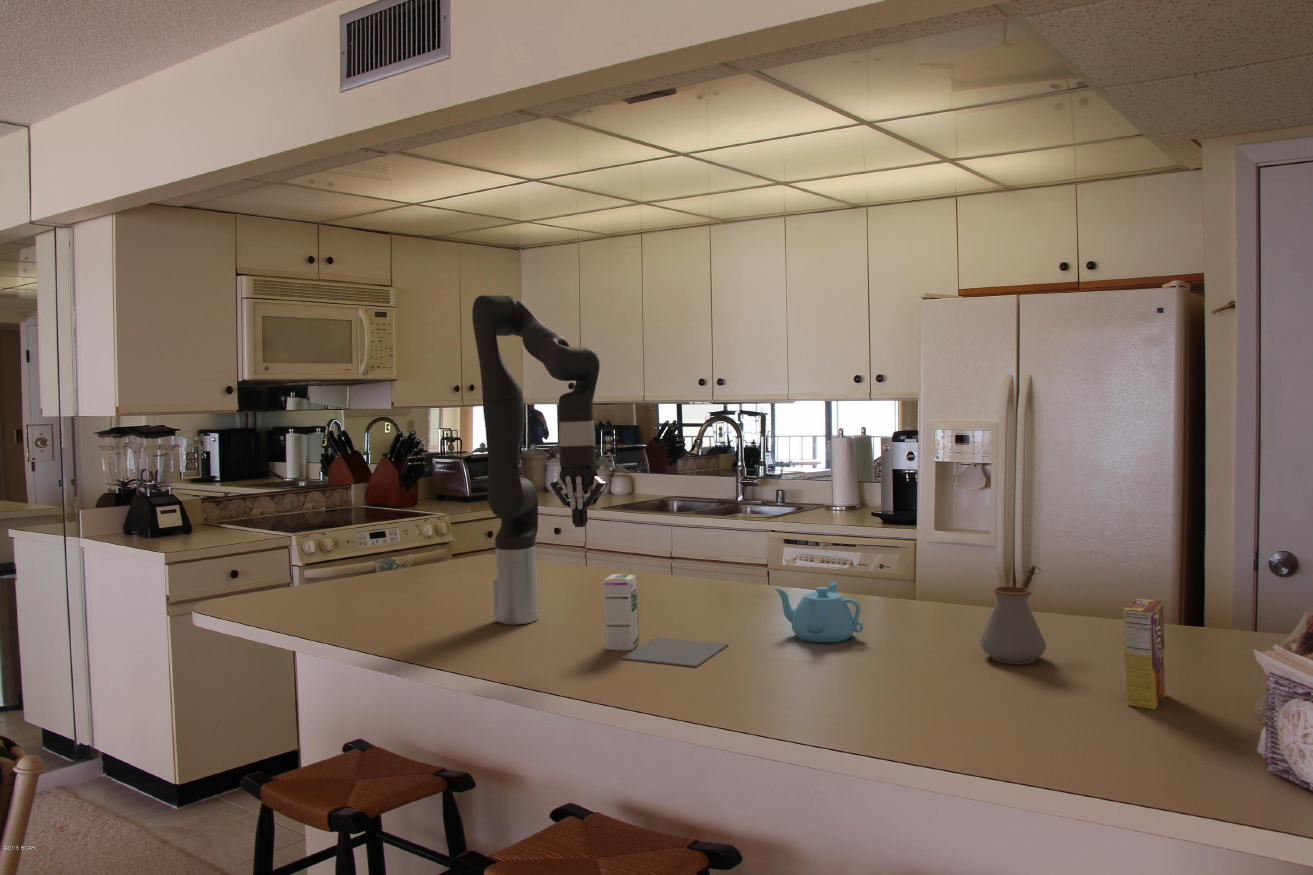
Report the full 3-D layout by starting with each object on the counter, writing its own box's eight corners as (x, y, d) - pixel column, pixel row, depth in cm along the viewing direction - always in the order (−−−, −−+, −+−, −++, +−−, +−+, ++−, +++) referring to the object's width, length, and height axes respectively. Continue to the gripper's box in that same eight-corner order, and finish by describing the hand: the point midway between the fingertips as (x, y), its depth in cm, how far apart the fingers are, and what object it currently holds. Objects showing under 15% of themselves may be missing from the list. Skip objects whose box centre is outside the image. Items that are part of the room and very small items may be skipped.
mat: (621, 658, 175) (620, 657, 175) (657, 638, 189) (657, 637, 189) (696, 667, 168) (696, 665, 168) (728, 645, 182) (728, 643, 182)
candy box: (1137, 690, 147) (1136, 597, 147) (1167, 695, 144) (1166, 600, 144) (1123, 705, 140) (1122, 608, 140) (1154, 710, 138) (1153, 611, 137)
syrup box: (633, 650, 180) (630, 579, 180) (604, 650, 182) (602, 578, 181) (639, 643, 186) (637, 573, 185) (611, 642, 187) (609, 573, 187)
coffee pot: (1036, 671, 159) (1035, 586, 158) (971, 661, 166) (969, 580, 165) (1067, 643, 176) (1066, 567, 175) (1006, 635, 183) (1005, 562, 182)
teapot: (873, 641, 182) (872, 591, 182) (807, 649, 177) (806, 598, 177) (836, 625, 196) (835, 578, 196) (773, 632, 191) (772, 584, 191)
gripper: (540, 444, 186) (543, 528, 186) (595, 444, 180) (598, 530, 181) (559, 442, 193) (562, 523, 193) (613, 442, 187) (616, 525, 187)
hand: (580, 526), depth 187 cm, fingers closed
